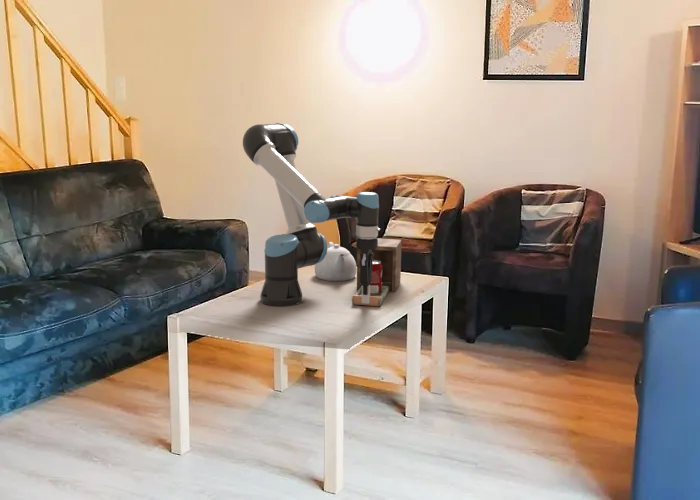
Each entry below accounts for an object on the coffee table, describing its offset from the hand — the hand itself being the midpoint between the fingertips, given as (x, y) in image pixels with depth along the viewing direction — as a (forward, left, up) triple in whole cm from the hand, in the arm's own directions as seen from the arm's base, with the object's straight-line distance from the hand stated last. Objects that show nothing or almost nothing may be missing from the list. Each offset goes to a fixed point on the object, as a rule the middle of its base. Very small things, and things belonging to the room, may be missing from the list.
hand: (365, 302), depth 277 cm
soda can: (0, +14, -1) cm, 14 cm away
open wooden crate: (0, +29, -1) cm, 29 cm away
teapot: (-20, +41, -2) cm, 45 cm away
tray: (0, +11, -1) cm, 11 cm away
